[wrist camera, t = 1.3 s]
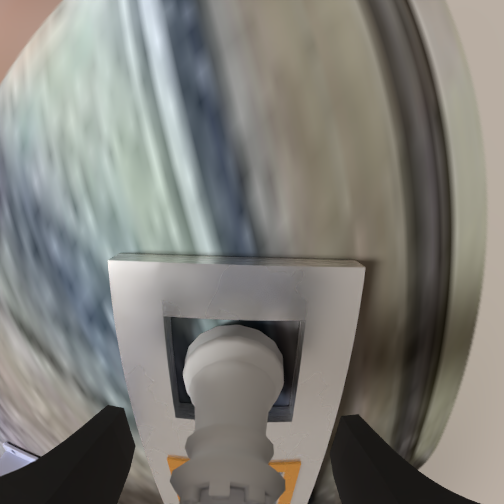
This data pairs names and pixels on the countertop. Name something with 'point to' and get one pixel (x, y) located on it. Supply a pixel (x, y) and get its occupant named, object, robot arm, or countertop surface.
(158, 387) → the rail plate
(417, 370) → the countertop surface
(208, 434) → the rook chess piece
